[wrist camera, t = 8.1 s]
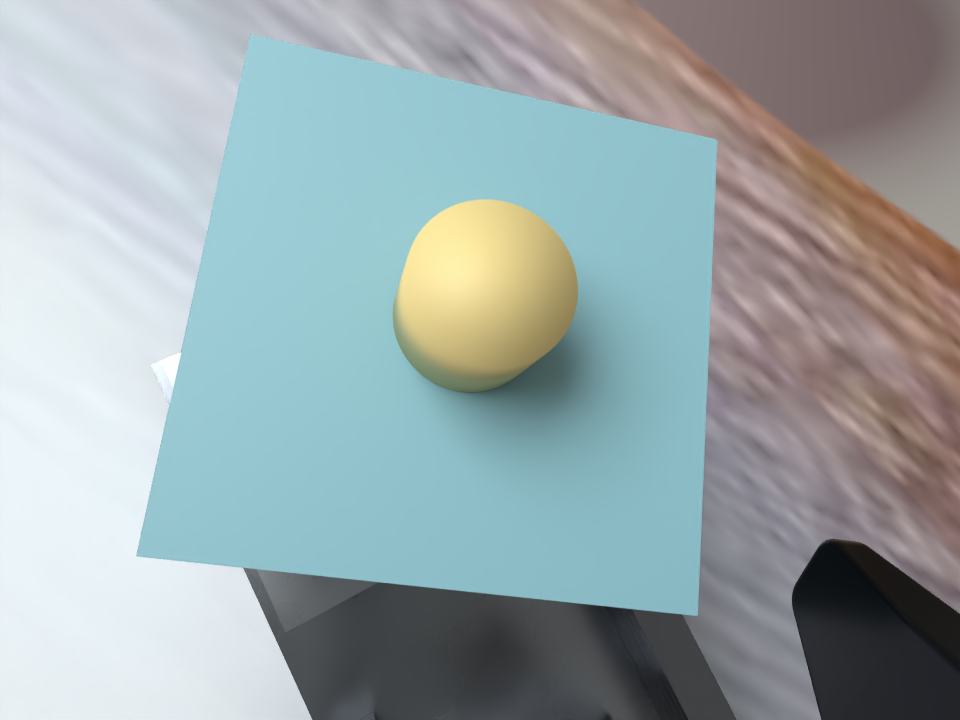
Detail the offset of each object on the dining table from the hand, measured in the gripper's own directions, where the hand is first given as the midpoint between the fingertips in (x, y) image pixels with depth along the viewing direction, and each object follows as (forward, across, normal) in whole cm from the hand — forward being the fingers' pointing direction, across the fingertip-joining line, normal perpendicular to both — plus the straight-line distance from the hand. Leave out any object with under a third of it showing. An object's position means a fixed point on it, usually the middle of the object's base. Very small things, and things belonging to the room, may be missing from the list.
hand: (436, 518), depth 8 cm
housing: (+9, 0, +6) cm, 11 cm away
